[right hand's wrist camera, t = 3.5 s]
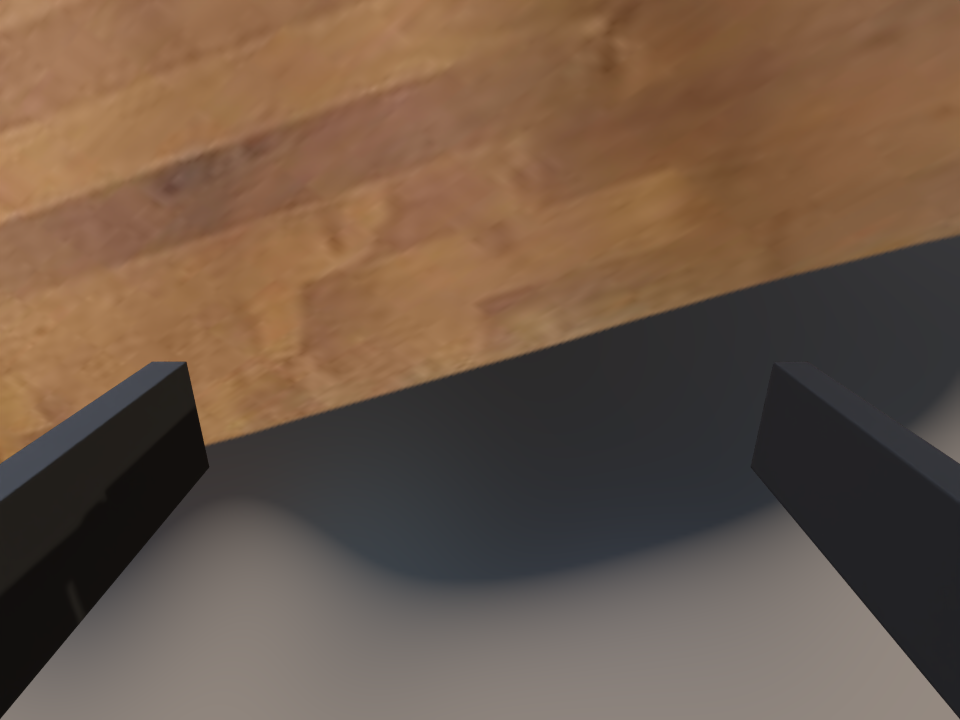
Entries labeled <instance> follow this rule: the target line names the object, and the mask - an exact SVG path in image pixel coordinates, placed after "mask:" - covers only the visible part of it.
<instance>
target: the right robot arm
mask: <svg viewBox="0 0 960 720" xmlns="http://www.w3.org/2000/svg"><path fill="white" fill-rule="evenodd" d="M208 468H209V464H208V459H207V455H206V450H205V445H204V441H203V436H202V432H201V427H200V422H199V418H198V413H197V409H196V404H195V399H194V395H193V390H192V386H191V381H190V376H189V372H188V367H187V363H186V362H151V363H150V364H148V365H147V366H145V367H144V368H142V369H141V370H139V371H138V372H136V373H135V374H133V375H132V376H130V377H129V378H127V379H126V380H124V381H123V382H121V383H120V384H118V385H117V386H115V387H114V388H112V389H111V390H109V391H108V392H106V393H105V394H103V395H102V396H101V397H99V398H98V399H96V400H95V401H93V402H92V403H90V404H89V405H87V406H86V407H84V408H83V409H81V410H80V411H78V412H77V413H75V414H74V415H72V416H71V417H69V418H68V419H66V420H65V421H63V422H62V423H60V424H59V425H57V426H56V427H54V428H53V429H51V430H50V431H48V432H47V433H46V434H44V435H43V436H41V437H40V438H38V439H37V440H35V441H34V442H32V443H31V444H29V445H28V446H26V447H25V448H23V449H22V450H20V451H19V452H17V453H16V454H14V455H13V456H11V457H10V458H8V459H7V460H5V461H4V462H2V463H1V464H0V719H1V717H2V716H3V715H4V714H5V713H6V711H7V710H8V709H9V708H10V707H11V705H12V704H13V703H14V702H15V700H16V699H17V698H18V697H19V696H20V694H21V693H22V692H23V691H24V690H25V688H26V687H27V686H28V685H29V684H30V682H31V681H32V680H33V679H34V678H35V676H36V675H37V674H38V673H39V672H40V670H41V669H42V668H43V667H44V665H45V664H46V663H47V662H48V661H49V660H50V658H51V657H52V656H53V655H54V654H55V652H56V651H57V650H58V649H59V648H60V646H61V645H62V644H63V643H64V641H65V640H66V639H67V638H68V637H69V635H70V634H71V633H72V632H73V631H74V629H75V628H76V627H77V626H78V625H79V623H80V622H81V621H82V620H83V619H84V617H85V616H86V615H87V614H88V613H89V611H90V610H91V609H92V608H93V607H94V605H95V604H96V603H97V602H98V600H99V599H100V598H101V597H102V596H103V595H104V593H105V592H106V591H107V590H108V589H109V587H110V586H111V585H112V584H113V582H114V581H115V580H116V579H117V578H118V576H119V575H120V574H121V573H122V572H123V570H124V569H125V568H126V567H127V566H128V564H129V563H130V562H131V561H132V560H133V558H134V557H135V556H136V555H137V553H138V552H139V551H140V550H141V549H142V548H143V546H144V545H145V544H146V543H147V542H148V540H149V539H150V538H151V537H152V536H153V534H154V533H155V532H156V531H157V529H158V528H159V527H160V526H161V525H162V523H163V522H164V521H165V520H166V519H167V517H168V516H169V515H170V514H171V513H172V511H173V510H174V509H175V508H176V507H177V505H178V504H179V503H180V502H181V501H182V499H183V498H184V497H185V496H186V495H187V493H188V492H189V491H190V490H191V489H192V487H193V486H194V485H195V484H196V482H197V481H198V480H199V479H200V478H201V477H202V475H203V474H204V473H205V472H206V470H207V469H208ZM751 468H752V469H753V470H754V472H755V473H756V474H757V475H758V476H759V478H760V479H761V480H762V481H763V483H764V484H765V485H766V486H767V487H768V489H769V490H770V491H771V492H772V493H773V495H774V496H775V497H776V498H777V499H778V501H779V502H780V503H781V504H782V505H783V507H784V508H785V509H786V510H787V511H788V513H789V514H790V515H791V516H792V517H793V519H794V520H795V521H796V522H797V523H798V525H799V526H800V527H801V528H802V529H803V531H804V532H805V533H806V534H807V535H808V537H809V538H810V539H811V540H812V542H813V543H814V544H815V545H816V546H817V547H818V549H819V550H820V551H821V552H822V554H823V555H824V556H825V557H826V558H827V560H828V561H829V562H830V563H831V564H832V566H833V567H834V568H835V569H836V570H837V572H838V573H839V574H840V575H841V576H842V578H843V579H844V580H845V581H846V582H847V584H848V585H849V586H850V587H851V589H852V590H853V591H854V592H855V593H856V595H857V596H858V597H859V598H860V599H861V601H862V602H863V603H864V604H865V605H866V607H867V608H868V609H869V610H870V611H871V613H872V614H873V615H874V616H875V617H876V619H877V620H878V621H879V622H880V623H881V625H882V626H883V627H884V628H885V629H886V631H887V632H888V633H889V634H890V635H891V637H892V638H893V639H894V640H895V641H896V643H897V644H898V645H899V646H900V647H901V649H902V650H903V651H904V652H905V654H906V655H907V656H908V657H909V658H910V660H911V661H912V662H913V663H914V664H915V665H916V667H917V668H918V669H919V670H920V672H921V673H922V674H923V675H924V676H925V678H926V679H927V680H928V681H929V682H930V684H931V685H932V686H933V687H934V688H935V690H936V691H937V692H938V693H939V694H940V696H941V697H942V698H943V699H944V700H945V702H946V703H947V704H948V705H949V707H950V708H951V709H952V710H953V711H954V713H955V714H956V715H957V716H958V717H959V719H960V464H959V463H958V462H956V461H955V460H953V459H952V458H950V457H949V456H947V455H946V454H944V453H943V452H941V451H940V450H938V449H937V448H935V447H934V446H932V445H931V444H929V443H928V442H926V441H925V440H923V439H922V438H920V437H919V436H917V435H916V434H914V433H913V432H911V431H910V430H909V429H907V428H906V427H904V426H903V425H901V424H900V423H898V422H897V421H895V420H894V419H892V418H891V417H889V416H888V415H886V414H885V413H883V412H882V411H880V410H879V409H877V408H876V407H874V406H873V405H871V404H870V403H868V402H867V401H865V400H864V399H862V398H861V397H859V396H858V395H856V394H855V393H854V392H852V391H850V390H849V389H848V388H846V387H845V386H843V385H842V384H840V383H839V382H837V381H836V380H834V379H833V378H831V377H830V376H828V375H827V374H825V373H824V372H822V371H821V370H819V369H818V368H816V367H815V366H813V365H812V364H810V363H809V362H774V363H773V367H772V372H771V376H770V381H769V386H768V390H767V395H766V399H765V404H764V409H763V413H762V418H761V422H760V427H759V432H758V436H757V441H756V445H755V450H754V455H753V459H752V464H751Z"/></svg>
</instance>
